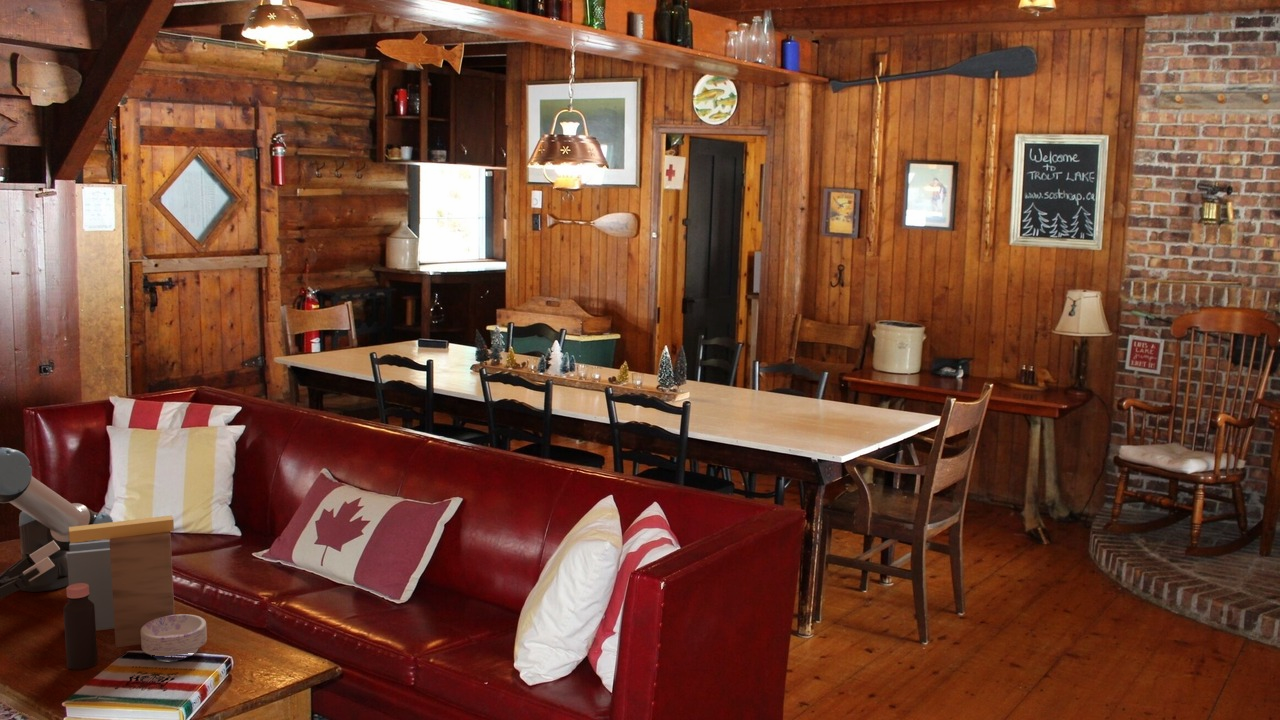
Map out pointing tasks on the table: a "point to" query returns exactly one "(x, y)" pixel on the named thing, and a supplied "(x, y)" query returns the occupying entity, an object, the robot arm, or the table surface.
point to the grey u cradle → (94, 577)
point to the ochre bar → (121, 529)
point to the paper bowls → (173, 635)
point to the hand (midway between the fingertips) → (54, 552)
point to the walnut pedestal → (140, 583)
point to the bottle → (80, 628)
